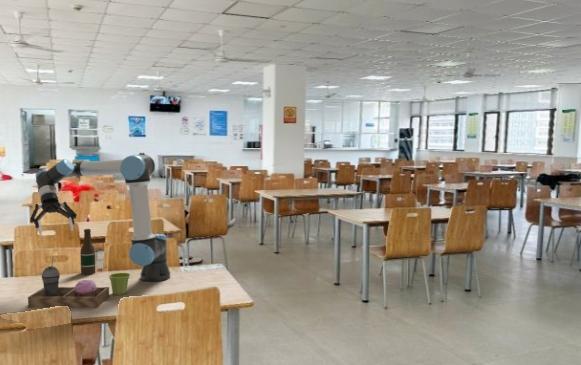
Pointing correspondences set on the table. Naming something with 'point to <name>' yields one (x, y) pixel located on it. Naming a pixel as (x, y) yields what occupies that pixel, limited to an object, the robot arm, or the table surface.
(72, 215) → the robot arm
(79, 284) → the cupcake
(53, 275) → the beverage cup
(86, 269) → the beer bottle
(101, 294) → the tray
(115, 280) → the plant pot
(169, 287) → the table surface
